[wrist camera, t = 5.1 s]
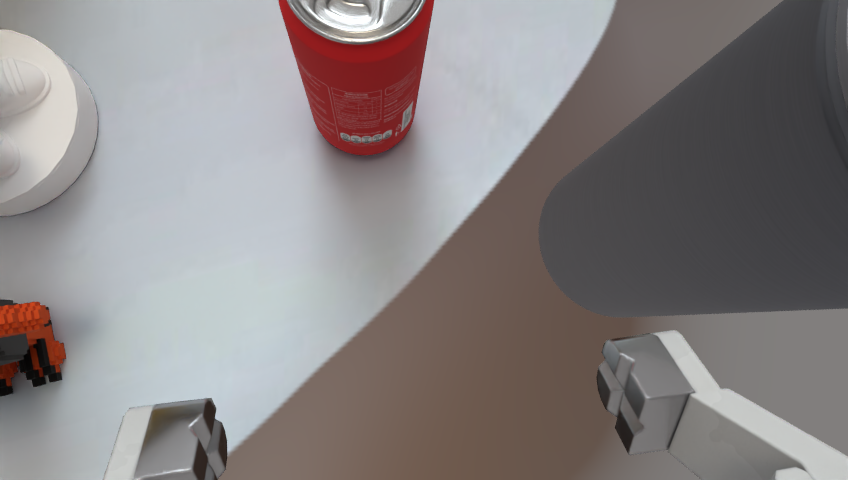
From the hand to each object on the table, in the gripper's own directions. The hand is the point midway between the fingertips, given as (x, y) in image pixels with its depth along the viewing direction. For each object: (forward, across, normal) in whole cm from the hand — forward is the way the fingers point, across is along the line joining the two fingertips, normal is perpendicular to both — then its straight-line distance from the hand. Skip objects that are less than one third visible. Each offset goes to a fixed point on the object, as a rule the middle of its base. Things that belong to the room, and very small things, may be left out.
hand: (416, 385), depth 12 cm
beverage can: (+21, 0, +3) cm, 21 cm away
